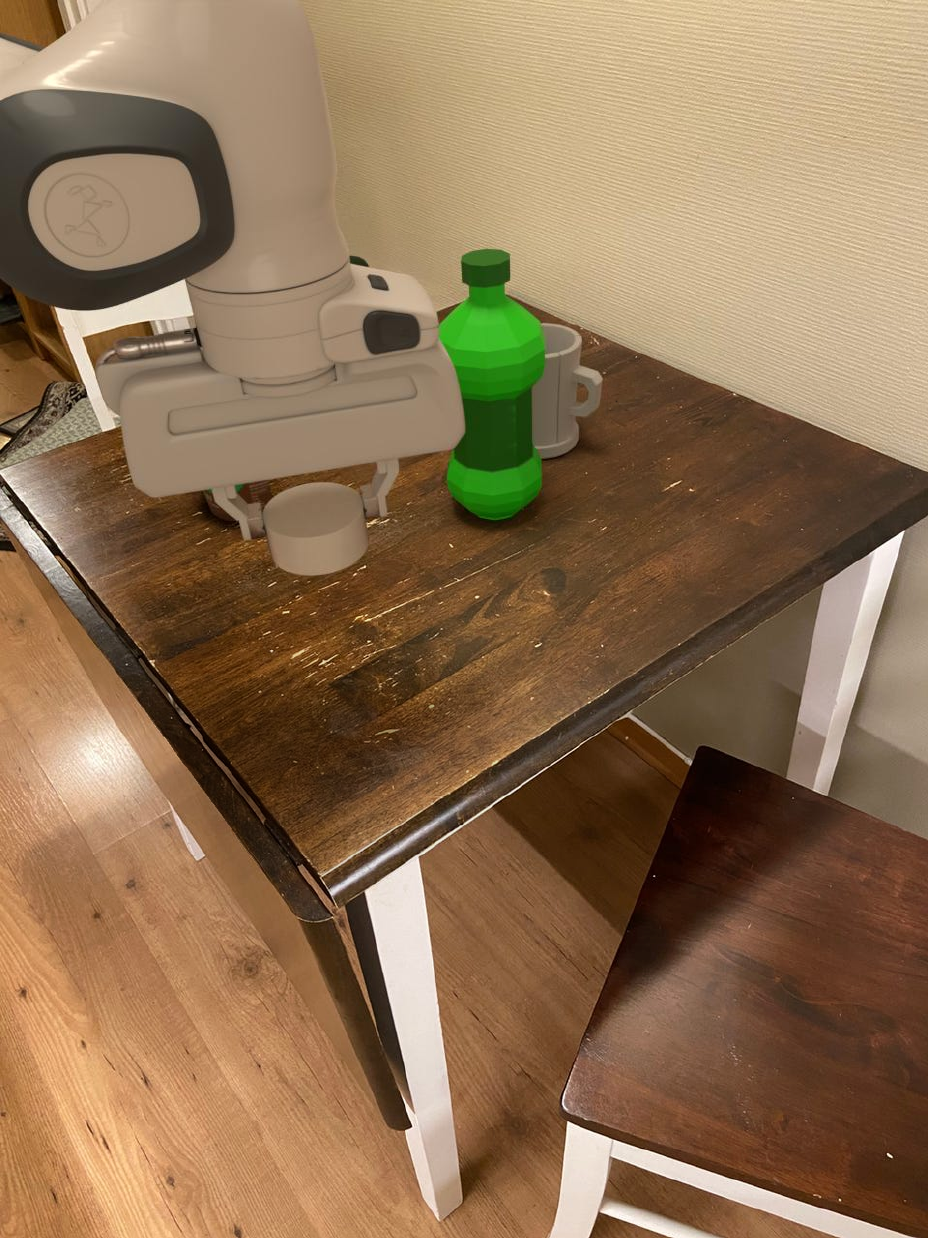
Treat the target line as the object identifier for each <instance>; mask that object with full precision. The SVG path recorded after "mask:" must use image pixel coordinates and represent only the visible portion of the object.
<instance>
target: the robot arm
mask: <svg viewBox="0 0 928 1238" xmlns="http://www.w3.org/2000/svg"><path fill="white" fill-rule="evenodd" d="M323 76H324V75H323V72H322V67H321V63H320V57H319V53H318V49H317V46H316V43H315V38H314V34H313V32H312V28H311V25H310V21H309V18H308V16H307V14H306V11H305V8H304V6H303V4H302V2H301V0H102V1H100V3H99V4H98V5H97V6H95V7H94V8H93V9H92V10H91V11H90V12H89V13H88V14H87V15H86V16H85V17H84V18H82V20H80V21H79V22H78V23H77V24H76V25H74V26H73V27H72V28H71V29H69V30H68V31H67V32H66V33H65V34H63V35H62V36H60V37H59V38H58V39H56V40H55V41H53V42H51V44H49V45H48V46H46V47H45V46H43V45H40V44H37V43H34V42H31V41H28V40H25V39H23V38H19V37H16V36H13V35H10V34H6V33H3V32H0V280H1V281H3V283H5V284H6V285H8V286H10V287H11V288H12V289H13V290H15V291H16V292H18V293H19V294H22V295H23V296H25V297H27V298H29V299H32V300H33V301H35V302H38V303H40V304H44V305H47V306H50V307H54V308H58V309H63V310H67V311H76V312H77V311H78V312H89V311H100V310H106V309H109V308H114V307H117V306H120V305H123V304H126V303H129V302H132V301H134V300H137V299H141V298H142V297H145V296H148V295H151V294H153V293H155V292H158V291H160V290H162V289H166V288H168V287H170V286H172V285H175V284H177V283H179V282H181V281H184V282H185V287H186V290H187V295H188V298H189V302H190V307H191V311H192V314H193V318H194V324H195V327H192V328H183V329H178V330H170V331H167V332H166V331H165V332H161V333H158V334H154V335H148V336H142V337H140V336H135V335H134V336H128V337H127V336H126V337H123V338H118V339H117V340H114V342H113V346H112V347H110V348H108V349H106V350H104V351H103V353H101V354H100V355H99V357H98V359H97V360H96V363H95V367H94V377H95V380H96V383H97V386H98V388H99V391H100V395H101V397H102V401H103V403H104V404H105V405H106V407H107V408H108V409H109V410H110V411H111V412H113V413H114V414H115V415H117V416H118V417H119V419H120V420H119V421H120V429H121V437H122V442H123V449H124V453H125V457H126V462H127V467H128V470H129V474H130V477H131V480H132V484H133V486H134V487H135V488H136V489H138V490H139V491H140V492H142V493H144V494H145V495H146V496H148V497H150V498H153V499H158V498H165V497H172V496H177V495H183V494H188V493H196V492H203V490H208V489H212V493H213V496H214V500H215V502H216V503H217V504H218V505H219V506H220V507H221V508H223V509H224V510H225V511H226V512H227V513H228V514H230V515H231V516H232V517H233V518H234V519H235V520H236V521H235V522H238V523H239V526H240V532H241V536H242V539H243V541H244V542H247V541H251V540H257V539H262V538H267V535H266V531H265V528H264V522H263V517H262V516H263V514H262V508H261V504H260V503H253V504H247V503H246V502H245V501H244V500H243V499H242V498H241V497H240V496H239V495H238V494H237V490H236V485H239V484H245V483H251V482H257V481H263V480H269V481H270V480H274V479H281V478H287V477H292V476H298V475H299V476H300V475H306V474H311V473H318V472H325V471H329V470H336V469H343V468H348V467H354V466H361V465H365V464H366V465H368V464H372V463H374V465H375V468H376V471H375V473H374V475H373V478H372V480H371V482H370V483H367V484H362V485H361V484H360V485H359V486H358V487H359V495H360V496H361V498H362V500H363V505H364V510H365V518H366V520H370V519H371V520H372V519H379V518H384V517H388V505H387V499H386V496H388V494H389V493H390V491H391V489H392V487H393V485H394V483H395V481H396V480H397V477H398V475H399V474H400V463H399V459H402V458H409V457H415V456H421V455H426V454H433V453H440V452H448V451H451V450H452V451H453V450H454V448H455V447H456V446H457V445H458V443H459V442H460V440H461V439H462V437H463V436H464V434H465V417H464V409H463V402H462V396H461V391H460V386H459V382H458V378H457V374H456V371H455V368H454V365H453V363H452V361H451V359H450V357H449V355H448V353H447V351H446V349H445V347H444V345H443V344H442V342H441V340H440V339H439V324H440V323H439V316H438V313H437V309H436V307H435V304H434V302H433V300H432V299H431V296H430V295H429V293H428V292H427V291H426V289H425V288H424V287H423V285H421V283H419V281H418V280H417V279H416V278H415V277H413V276H412V275H409V274H406V273H401V272H396V271H391V270H386V269H385V270H384V269H380V268H374V267H370V266H369V267H364V266H359V265H354V264H350V258H349V256H350V252H349V247H348V243H347V239H346V238H345V236H344V233H343V231H342V229H341V226H340V223H339V220H338V216H337V215H338V214H337V211H336V210H337V209H336V186H337V179H338V159H337V153H336V145H335V139H334V131H333V125H332V119H331V113H330V108H329V101H328V97H327V96H328V95H327V91H326V87H325V86H326V85H325V82H324V81H325V80H324V77H323ZM114 356H117V357H114ZM112 357H113V358H112ZM238 520H239V521H238Z"/></svg>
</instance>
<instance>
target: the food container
mask: <svg viewBox="0 0 928 1238" xmlns="http://www.w3.org/2000/svg"><path fill="white" fill-rule="evenodd" d="M236 490H237V494H238V495H239V496H240V497H241V498H242V499H243V500H244V501H245V502H246V503H247V504H253V503H260V504H261V508H262V513H263V510H264V508H265V506H266V505H267V503H268V502H269V501H270V500H271V499H272V498H273V494H272V490H271V485H270V479H269V480H263V481H257V482H251V483H245V484H239V485H236ZM202 492H203V495H204V498H205V499H206V503H207V506H208V507H209V510H210V512H211V513H212V514H213V515H214V516H216V517H217V518H219V519H221V520H226V521H230V522H239V520H238V521H236V520H235V519H234V518H233V517H232V516H231V515H230V514H228V513H227V512H226V511H225V510H224V509H223V508H221V507H220V506H219V505H218V504H217V503H216V502H215V500H214V496H213V493H212V489H208V490H202Z"/></svg>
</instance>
